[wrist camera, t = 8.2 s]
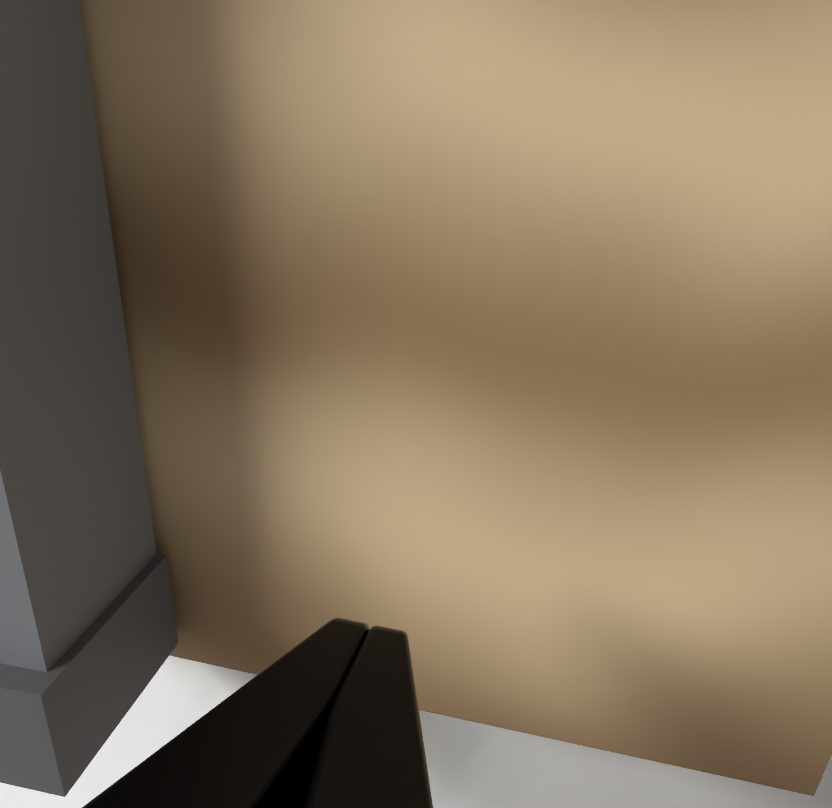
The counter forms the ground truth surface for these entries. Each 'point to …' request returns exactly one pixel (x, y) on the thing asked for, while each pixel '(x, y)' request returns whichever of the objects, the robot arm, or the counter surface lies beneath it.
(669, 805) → the counter surface
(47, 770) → the folding leg
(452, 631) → the tan wooden slab
